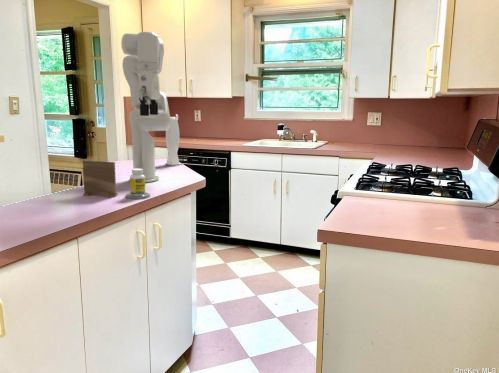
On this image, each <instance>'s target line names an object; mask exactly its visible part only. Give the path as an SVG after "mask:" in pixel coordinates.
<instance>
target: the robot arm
mask: <svg viewBox="0 0 499 373" xmlns="http://www.w3.org/2000/svg"><path fill="white" fill-rule="evenodd" d="M164 46H165V45H164V42H163V40H162V39H161V38H160V37H159V36H158V34H157V33H155V32H151V31H150V32H149V31H140V32H138V33H124V34H123V35H122V37H121V49H122V50H121V51H122V53H123V54H124V55H126V56H124V57H123V59H122V62H121V63H122V70H123V75H124V78H125V80H126V83H127V84H128V86H129V91H130V93H129V94H130V100H131V102H130V103H131V107H132V108H133V110H131V111H130V113H129V119H128V120H129V123H130V129H131V130H130V131H131V141H132V169H136V168H139V169H143V173H142V174H143V175H144V176H145V183H153V182H157V181H159V179H160V178H159V176H157V175H156V172H157V170H156V169H157V168H156V163H155V162H156V161H155V160H156V156H155V154H156V153H155V152H156V150H155V148H156V147H155V139H154V138H153V136H152V135H151V134H150V133H149V132H158V131H159V132H166V130H168V129H169V128H170V117H171V114H170V108H169V103H168V97H167V95H166V93H165V92H163V91H161V90H160V89H161V88H160V79H159V78H160V77H159V74H160V73H161V72H162V70H163V64H164V63H163V62H164V61H163V60H164V55H165V47H164Z"/></svg>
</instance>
